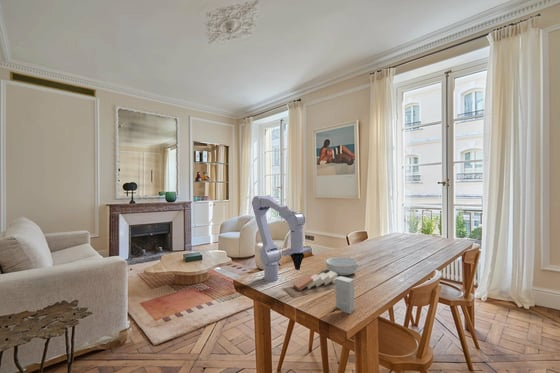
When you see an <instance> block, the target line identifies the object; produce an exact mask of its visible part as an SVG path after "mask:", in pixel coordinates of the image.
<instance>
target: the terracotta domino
mask: <svg viewBox="0 0 560 373" xmlns="http://www.w3.org/2000/svg"><path fill="white" fill-rule="evenodd" d="M312 282H314V281H313V279H312V278H311V276H308V275H305V276H303V277H302V278H300V279H299V280H298V281H295V282H294V283H293V286H294V287H295V288H296V289H298V290H299V291H300V290H302V289H303V288H305V287H306V286H308V285H309V284H311V283H312Z"/></svg>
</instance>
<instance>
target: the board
mask: <svg viewBox="0 0 560 373" xmlns="http://www.w3.org/2000/svg"><path fill="white" fill-rule="evenodd" d="M334 289H335V290H336V285H335V283H331V282H330V283H328V284H327V285H324V284H321V285H320V286H318V287H316V286H312V287H311V288H309V289H308V288H306V287H305V288H303V289H302V290H300V291H299V290H298V289H296V288H295V287H294V285H293V286H289V287H284V288H282V291H284V292H285V294H287V295H288V296H290V297H291V298H292V299H294V298H300V297H304V296H308V295H312V294H317V293H323V292H326V291H330V290H334Z"/></svg>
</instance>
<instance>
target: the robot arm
mask: <svg viewBox="0 0 560 373" xmlns="http://www.w3.org/2000/svg"><path fill="white" fill-rule="evenodd" d="M251 206H252V210H253V214H254V216H255V220H256V224H257V228H258V232H259V235H260V239H261V243H262V247H261V248H260V250H259V254H260V262H261V263H262V264H263V268H264V269H263V270H264V271H263V274H264V275H263V276H262V279H263V280H264V281H265V282H269V283H270V282H273V283H274V282H277V281H279V263H280V261H281V260H282V257H286V256H289V257H291V260H292V262H293V265H294V266H293V267H294V270H296V271H300V269H301V265H302V261H303V259H304V258H305V253H312V250H313V249H312V247H309V246H307V247H304V225H305V223H306V217H305V215H304V214H303V213H302V212H297V211H296V210H293V209H291V208H290V206H289V205H283V206H282V205H281V204H280V203H279V202H278V201H277V200H275V198H274V197H273V196H271V195H255V196H253V197H252V200H251ZM270 209H272V210H274V211H276V212H278V215H279V217H281V218H282V219H283V220H285V221H286V222H287V224H288V226H289V232H290V248H288V249H285V250H282V251H280V249H279V247H278V245H277V244H275V243H274V241H273V238H272V233H271V231H270V227H269V223H268V220H267V216H266V213H267V212H269V210H270Z"/></svg>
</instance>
